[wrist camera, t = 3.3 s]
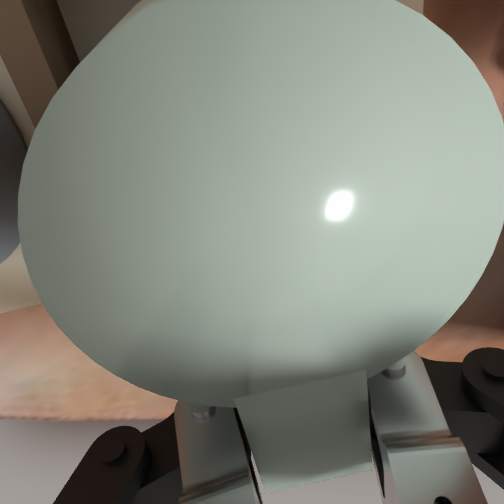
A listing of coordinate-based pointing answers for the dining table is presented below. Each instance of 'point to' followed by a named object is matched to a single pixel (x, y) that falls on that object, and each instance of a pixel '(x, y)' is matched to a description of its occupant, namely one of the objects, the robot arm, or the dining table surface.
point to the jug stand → (42, 101)
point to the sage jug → (265, 210)
